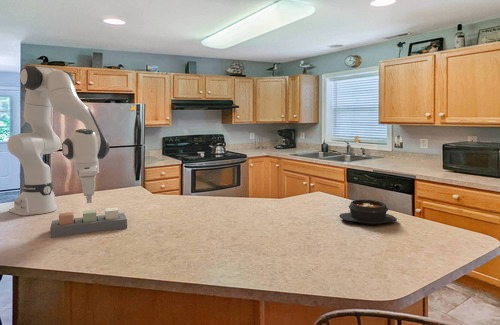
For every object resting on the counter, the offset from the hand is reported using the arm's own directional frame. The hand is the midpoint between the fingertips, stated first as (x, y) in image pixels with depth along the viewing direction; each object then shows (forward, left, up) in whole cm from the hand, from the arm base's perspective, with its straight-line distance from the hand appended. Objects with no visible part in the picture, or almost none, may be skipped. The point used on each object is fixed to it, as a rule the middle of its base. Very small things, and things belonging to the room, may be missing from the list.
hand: (89, 202), depth 143 cm
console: (0, 0, -11) cm, 11 cm away
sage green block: (0, 0, -9) cm, 9 cm away
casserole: (+106, +57, -12) cm, 121 cm away
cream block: (+6, +6, -9) cm, 12 cm away
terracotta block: (-6, -6, -9) cm, 12 cm away
